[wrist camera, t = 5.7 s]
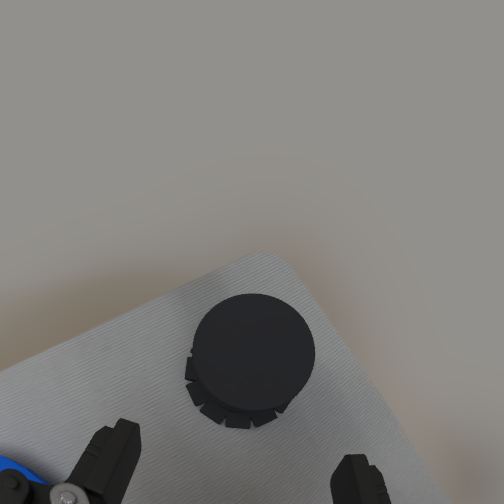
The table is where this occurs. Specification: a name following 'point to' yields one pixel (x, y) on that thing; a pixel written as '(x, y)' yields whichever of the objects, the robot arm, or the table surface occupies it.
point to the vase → (20, 469)
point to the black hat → (249, 360)
